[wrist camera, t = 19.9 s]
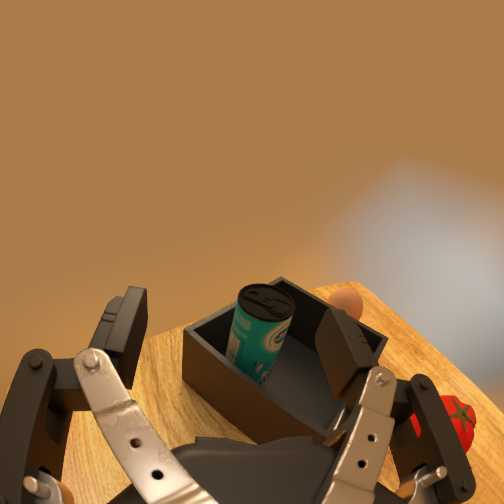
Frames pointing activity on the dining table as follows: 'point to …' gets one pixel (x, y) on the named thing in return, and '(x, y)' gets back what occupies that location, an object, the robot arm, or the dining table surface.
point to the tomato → (456, 419)
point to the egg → (347, 301)
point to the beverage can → (259, 329)
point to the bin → (280, 379)
